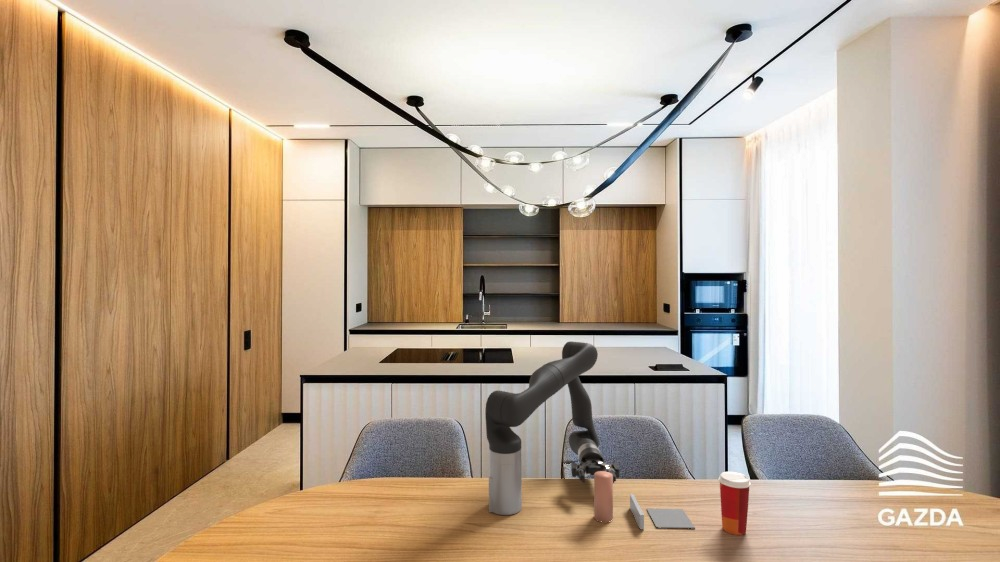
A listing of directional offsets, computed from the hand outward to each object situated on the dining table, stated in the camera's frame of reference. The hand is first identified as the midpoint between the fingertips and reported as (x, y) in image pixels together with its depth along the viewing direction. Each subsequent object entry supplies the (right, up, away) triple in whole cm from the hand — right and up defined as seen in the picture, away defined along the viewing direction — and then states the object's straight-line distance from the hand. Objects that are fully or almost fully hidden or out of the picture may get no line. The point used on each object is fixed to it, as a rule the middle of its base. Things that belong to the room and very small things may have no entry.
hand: (598, 479), depth 145 cm
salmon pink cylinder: (0, -7, -8) cm, 11 cm away
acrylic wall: (+9, -7, -9) cm, 14 cm away
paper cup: (+32, -7, -15) cm, 36 cm away
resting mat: (+18, -7, -9) cm, 21 cm away
